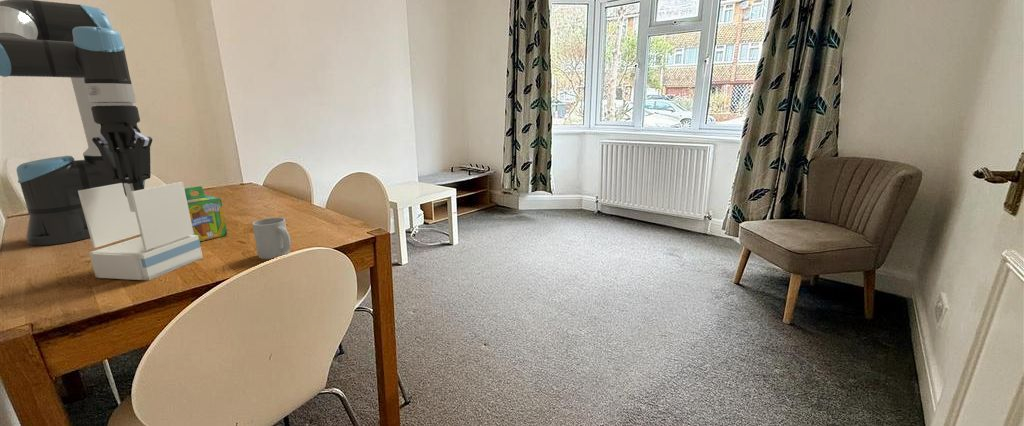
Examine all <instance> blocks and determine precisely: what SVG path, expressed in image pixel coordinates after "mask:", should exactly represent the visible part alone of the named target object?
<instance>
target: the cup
mask: <svg viewBox="0 0 1024 426" xmlns="http://www.w3.org/2000/svg"><path fill="white" fill-rule="evenodd" d="M252 228H253V229H252V230H253V236H254V241H255V247H256V248H255V249H256V252H257V253H256V254H257V257H259V258H260V259H261V260H273V259H272V258H275V257H278V256H282V255H285V254H287V255H289V253H290V252H291V251H290V250H291V245H292V244H291V236H290V233H289V232H288V230H287V229H288V228H287V224H286V219H285V218H284V217H268V218H267V217H266V218H262V219H258V220H255V221H253V222H252Z"/></svg>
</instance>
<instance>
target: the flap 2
mask: <svg viewBox="0 0 1024 426" xmlns="http://www.w3.org/2000/svg"><path fill="white" fill-rule="evenodd" d="M130 193H131V197H132V201H133V205H134V209H135V214H136V218H137V222H138V226H139V230H140V236H141V239H142V243H143V247H144V250H148V249H151V248H154V247H157V246H160V245H163V244H166V243H169V242H172V241H174V240H177V239H180V238H183V237H186V236H189V235H192V234H194V232H193V228H192V223H191V218H190V213H189V208H188V204H187V199H186V194H185V185H184V182H183V181H178V182H172V183H168V184H163V185H158V186H152V187H146V188H144V189H142V190H137V191H132V192H130Z"/></svg>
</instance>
